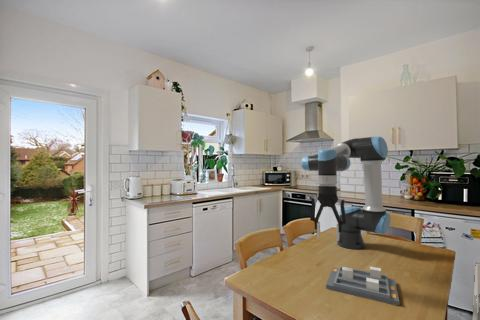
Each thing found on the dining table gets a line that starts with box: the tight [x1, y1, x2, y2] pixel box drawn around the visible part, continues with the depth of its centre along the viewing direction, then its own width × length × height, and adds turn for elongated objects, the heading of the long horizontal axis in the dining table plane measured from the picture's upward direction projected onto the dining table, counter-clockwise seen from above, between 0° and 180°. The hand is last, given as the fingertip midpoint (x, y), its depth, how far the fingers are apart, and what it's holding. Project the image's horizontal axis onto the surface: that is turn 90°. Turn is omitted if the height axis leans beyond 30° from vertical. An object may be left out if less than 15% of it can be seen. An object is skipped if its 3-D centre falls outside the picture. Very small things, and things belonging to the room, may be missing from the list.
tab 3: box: [366, 278, 379, 292], centre depth 88 cm, size 3×4×4 cm
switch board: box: [325, 265, 400, 306], centre depth 95 cm, size 18×24×3 cm
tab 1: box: [342, 266, 354, 279], centre depth 98 cm, size 3×4×4 cm
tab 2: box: [369, 265, 382, 279], centre depth 98 cm, size 3×4×4 cm
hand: (328, 238), depth 102 cm, fingers open, 7 cm apart
